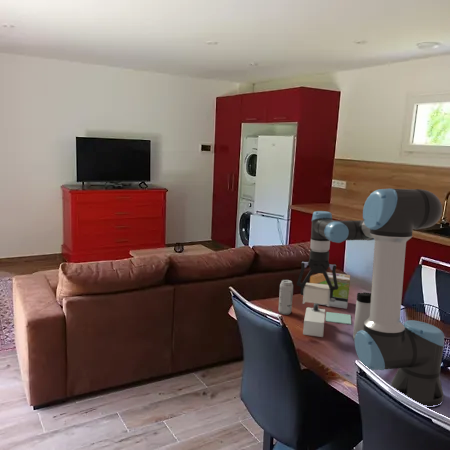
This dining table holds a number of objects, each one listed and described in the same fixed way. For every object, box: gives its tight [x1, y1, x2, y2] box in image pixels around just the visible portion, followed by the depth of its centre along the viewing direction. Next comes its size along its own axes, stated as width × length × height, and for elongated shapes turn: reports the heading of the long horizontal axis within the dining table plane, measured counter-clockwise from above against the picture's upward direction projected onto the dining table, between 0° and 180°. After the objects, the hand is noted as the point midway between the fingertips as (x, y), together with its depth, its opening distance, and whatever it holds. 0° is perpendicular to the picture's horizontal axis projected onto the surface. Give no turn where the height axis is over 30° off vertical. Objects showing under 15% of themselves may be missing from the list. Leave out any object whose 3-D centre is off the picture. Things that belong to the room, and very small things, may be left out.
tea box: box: [318, 271, 351, 310], centre depth 220 cm, size 15×10×15 cm, turn 73°
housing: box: [302, 306, 326, 338], centre depth 190 cm, size 16×8×6 cm, turn 166°
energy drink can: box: [278, 279, 294, 316], centre depth 206 cm, size 6×6×15 cm
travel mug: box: [352, 291, 371, 342], centre depth 179 cm, size 6×7×20 cm
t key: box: [309, 273, 335, 311], centre depth 191 cm, size 10×9×16 cm
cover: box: [304, 282, 329, 305], centre depth 182 cm, size 7×9×6 cm
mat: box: [325, 311, 352, 325], centre depth 202 cm, size 11×11×1 cm
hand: (315, 304), depth 183 cm, fingers closed on cover, 9 cm apart
